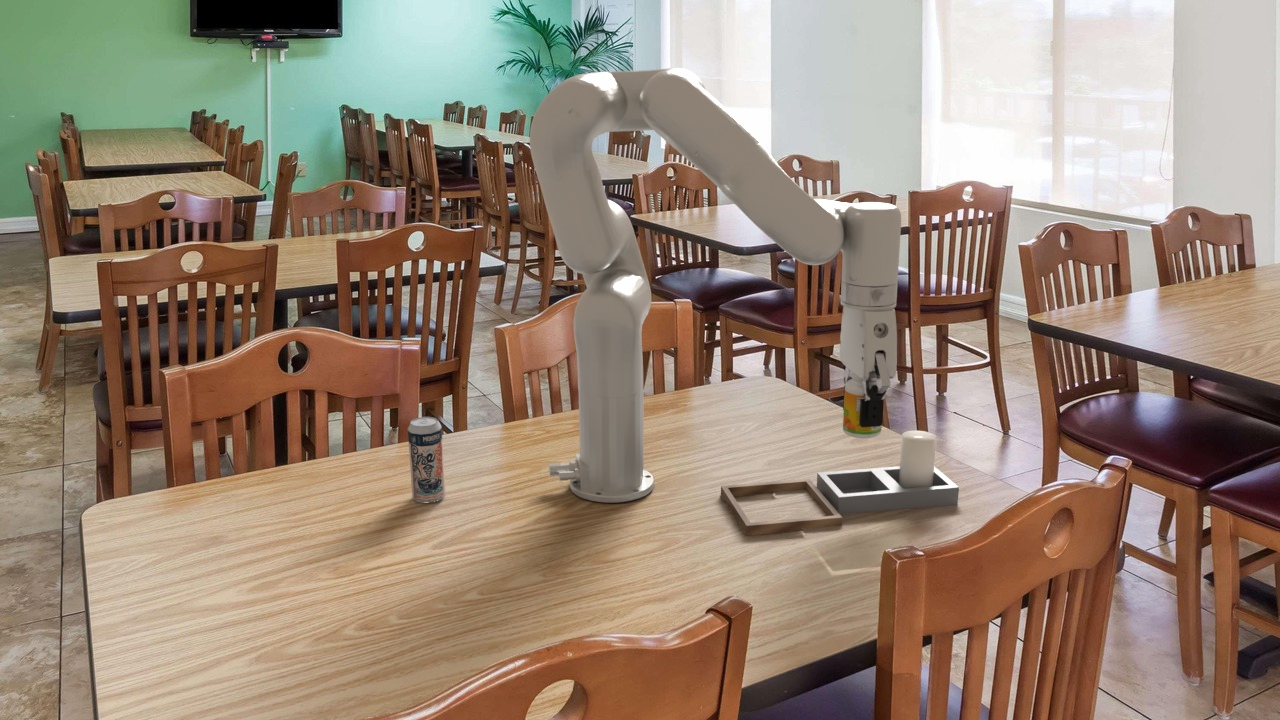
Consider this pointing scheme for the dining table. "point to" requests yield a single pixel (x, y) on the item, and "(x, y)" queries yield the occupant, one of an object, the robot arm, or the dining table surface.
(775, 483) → the tray
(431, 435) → the beer can
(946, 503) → the caddy
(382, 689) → the dining table surface
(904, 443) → the white pillar candle
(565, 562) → the dining table surface
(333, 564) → the dining table surface
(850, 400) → the supplement bottle
